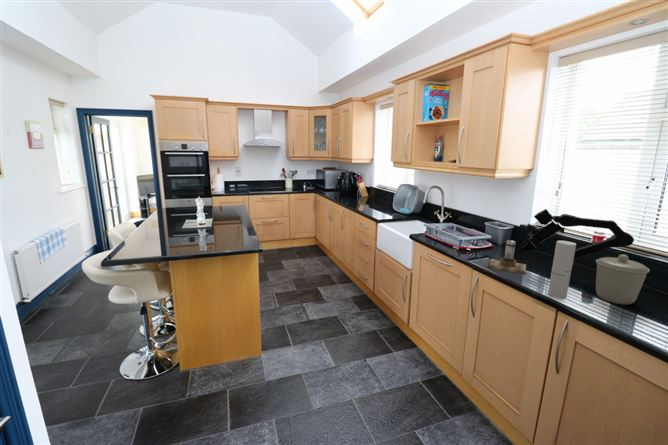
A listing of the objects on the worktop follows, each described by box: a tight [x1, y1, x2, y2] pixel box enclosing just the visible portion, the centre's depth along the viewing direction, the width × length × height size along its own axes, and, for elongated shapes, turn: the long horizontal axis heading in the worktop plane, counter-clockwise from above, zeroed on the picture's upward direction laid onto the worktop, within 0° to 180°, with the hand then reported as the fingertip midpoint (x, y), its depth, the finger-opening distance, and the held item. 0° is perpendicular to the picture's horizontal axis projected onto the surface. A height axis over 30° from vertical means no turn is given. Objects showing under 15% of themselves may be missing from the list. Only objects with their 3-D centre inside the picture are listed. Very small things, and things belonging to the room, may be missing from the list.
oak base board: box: [488, 258, 527, 275], centre depth 187 cm, size 18×14×2 cm
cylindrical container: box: [547, 240, 577, 300], centre depth 148 cm, size 7×7×25 cm
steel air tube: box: [503, 239, 516, 262], centre depth 185 cm, size 5×5×14 cm
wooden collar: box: [499, 257, 517, 267], centre depth 186 cm, size 8×8×3 cm
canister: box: [595, 254, 650, 305], centre depth 145 cm, size 18×18×21 cm
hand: (521, 248), depth 182 cm, fingers open, 9 cm apart
